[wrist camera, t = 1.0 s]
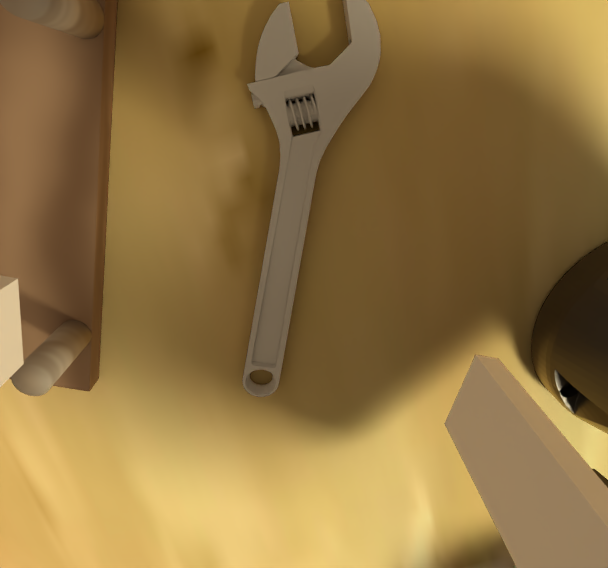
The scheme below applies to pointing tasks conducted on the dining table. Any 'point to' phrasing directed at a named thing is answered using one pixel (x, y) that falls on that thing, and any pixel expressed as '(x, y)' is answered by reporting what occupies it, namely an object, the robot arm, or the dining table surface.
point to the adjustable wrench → (299, 160)
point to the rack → (56, 181)
